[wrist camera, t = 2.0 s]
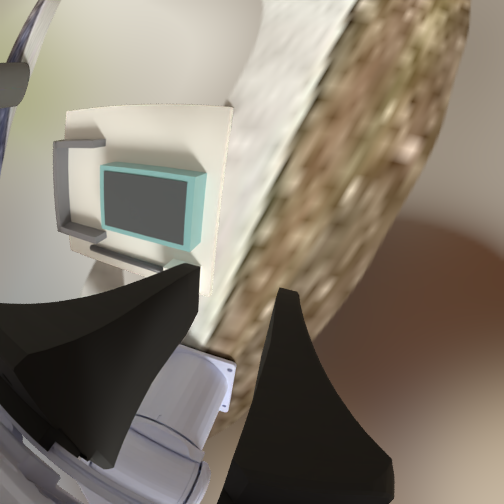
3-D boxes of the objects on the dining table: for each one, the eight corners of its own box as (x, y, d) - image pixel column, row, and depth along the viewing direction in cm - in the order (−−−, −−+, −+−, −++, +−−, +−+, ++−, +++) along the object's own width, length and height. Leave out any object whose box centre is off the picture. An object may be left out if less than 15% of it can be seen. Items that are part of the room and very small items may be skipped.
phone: (207, 172, 17) (194, 177, 15) (200, 242, 19) (189, 252, 18) (115, 161, 18) (99, 165, 17) (115, 221, 21) (100, 228, 19)
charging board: (233, 107, 16) (221, 104, 14) (212, 293, 22) (201, 308, 20) (71, 110, 18) (53, 112, 16) (74, 247, 24) (60, 256, 22)
